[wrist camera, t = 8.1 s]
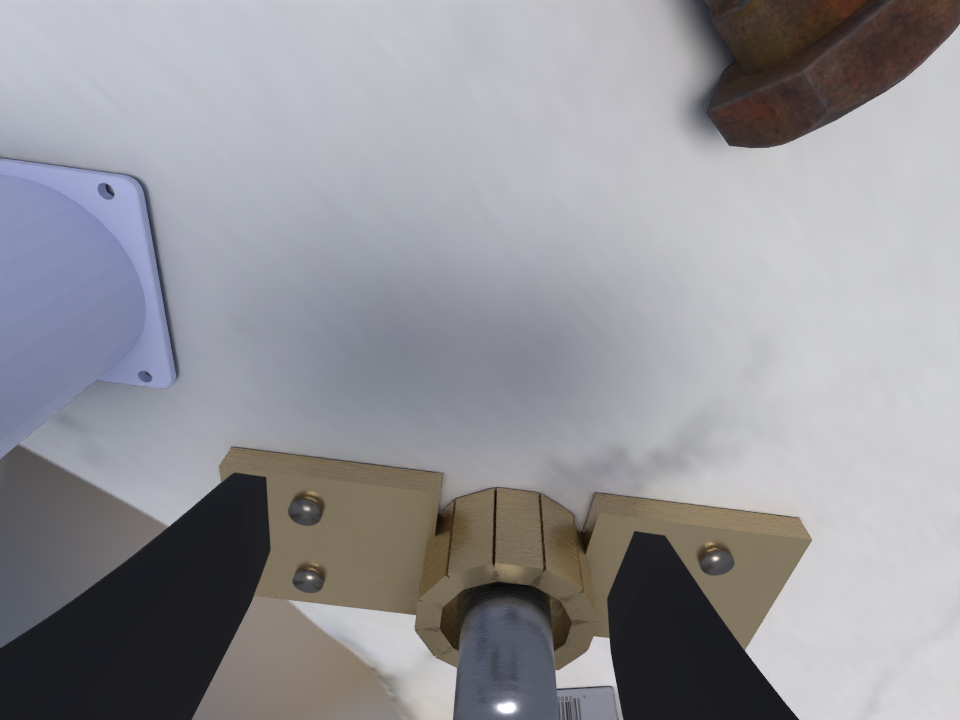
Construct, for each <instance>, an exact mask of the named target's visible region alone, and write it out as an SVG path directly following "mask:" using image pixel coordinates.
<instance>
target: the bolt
mask: <svg viewBox="0 0 960 720" xmlns="http://www.w3.org/2000/svg"><path fill="white" fill-rule="evenodd" d="M704 1H705V3H706V4H707V6H708V7H709V9H710V10H711V21H712V22H713V24H714V25H715V27H716V29H717V30H718V32H719V33H720V35H721V36H722V38H723V40H724V41H725V43H726V44H727V46H728V47H729V49H730V51H731V52H732V54H733V55H734V57H735V58H736V60H735V61H734V62H733V63H732V64H731V65H729V66H728V67H727V68H726V69H725V71H724V73H723V75H722V78H721V80H720V82H719V84H718V87H717V89H716V91H715V94H714V96H713V98H712V101H711V103H710V105H709V108H708V110H707V114H708V116H709V117H710V118H711V120H712V121H713V123H714V124H715V126H716V127H717V129H718V130H719V131H720V133H721V134H722V136H723V137H724V139H725V140H726V142H727V143H728V145H729V146H736V147H747V148H769V147H773V146H778V145H783V144H785V143H788V142H790V141H793V140H795V139H797V138H799V137H801V136H804V135H806V134H808V133H810V132H812V131H814V130H816V129H818V128H820V127H823V126H825V125H827V124H829V123H831V122H833V121H835V120H837V119H839V118H841V117H842V116H844V115H846V114H848V113H849V112H851V111H853V110H854V109H856V108H858V107H860V106H861V105H863V104H865V103H867V102H868V101H870V100H872V99H874V98H875V97H877V96H879V95H881V94H882V93H884V92H886V91H887V90H889V89H890V88H892V87H893V86H894V85H896V84H897V83H899V82H900V81H902V80H903V79H905V78H906V77H907V76H908V75H909V74H911V73H912V72H913V71H914V70H915V69H916V68H918V67H919V66H920V65H921V64H922V63H923V62H924V61H925V60H926V59H927V58H928V57H929V56H930V55H931V54H932V53H933V52H934V51H935V50H936V49H937V48H938V47H939V46H940V45H941V44H942V43H943V42H944V41H945V40H946V39H947V38H948V37H949V36H950V35H951V34H952V33H953V32H954V30H955V29H956V28H957V27H958V25H959V24H960V0H704Z"/></svg>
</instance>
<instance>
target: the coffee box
mask: <svg viewBox="0 0 960 720" xmlns="http://www.w3.org/2000/svg"><path fill="white" fill-rule="evenodd" d="M557 701H558V715H559V720H618V714H617V708H616V702H615V696H614V691H613V689H612V688H611V687H601V688H583V689H566V690H557Z"/></svg>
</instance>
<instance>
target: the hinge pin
mask: <svg viewBox="0 0 960 720" xmlns="http://www.w3.org/2000/svg"><path fill="white" fill-rule="evenodd" d="M453 720H559V715H558V701H557V688H556V675H555V661H554V648H553V635H552V621H551V608H550V595H549V594H547V593H545V592H544V591H542V590H540V589H538V588H536V587H535V586H531V585H523V584H515V583H506V582H498V581H496V582H492V583H488V584H484V585H480V586H476V587H472V588H468V589H464V591H463V603H462V616H461V628H460V640H459V653H458V665H457V677H456V690H455V702H454V715H453Z"/></svg>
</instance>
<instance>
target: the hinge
mask: <svg viewBox="0 0 960 720" xmlns="http://www.w3.org/2000/svg"><path fill="white" fill-rule="evenodd" d="M219 469H220V476H221V482H223V481H224V480H225V479H226V478H227V477H228V476H230V475H231V474H233V473H234V472H236V473H243V474H249V475H256V476H263V477H266V481H267V498H268V514H269V530H270V547H271V551H270V554H269V556H268V559H267V562H266V565H265V567H264V570H263V573H262V576H261V578H260V581H259V583H258V586H257V589H256V591H255V594H254V596H261V597H270V598H278V599H286V600H294V601H303V602H311V603H320V604H328V605H337V606H345V607H353V608H362V609H370V610H379V611H387V612H395V613H404V614H412V615H416V622H415V629H416V630H415V631H416V633H417V634H418V635H419V637H420V638H421V639H422V641H423V642H424V643H425V645H426V646H427V647H428V649H429V650H430V651H431V653H432V654H433V656H436V658H438V659H440V660H442V661H444V662H446V663H448V664H450V665H452V666H454V667H456V668H457V665H458V653H459V640H460V628H461V616H462V603H463V591H464V589H468V588H472V587H476V586H480V585H484V584H488V583H492V582H496V581H498V582H506V583H515V584H523V585H531V586H535V587H536V588H538V589H540V590H542V591H544V592H545V593H547V594H549V595H550V608H551V621H552V635H553V648H554V661H555V669H556V670H560V669H561V668H563V667H564V666H566V665H567V664H569V663H570V662H572V661H573V660H575V659H576V658H578V657H579V656H581V655H582V654H584V653H585V652H587V650H588V649H589V646H590V644H591V641H592V638H593V636H598V637H606V638H610V636H609V623H608V607H607V597H608V595H609V592H610V590H611V587H612V585H613V582H614V580H615V577H616V575H617V573H618V570H619V568H620V565H621V563H622V560H623V558H624V555H625V553H626V551H627V548H628V546H629V543H630V541H631V538H632V536H633V533H634V531H638V532H645V533H651V534H658V535H665V536H666V538H667V539H668V540H669V542H670V543H671V545H672V546H673V548H674V549H675V551H676V552H677V554H678V555H679V557H680V558H681V560H682V561H683V563H684V564H685V566H686V567H687V569H688V570H689V572H690V573H691V575H692V576H693V578H694V579H695V581H696V582H697V584H698V585H699V587H700V588H701V589H702V591H703V592H704V594H705V595H706V597H707V598H708V600H709V601H710V603H711V604H712V606H713V607H714V608H715V610H716V611H717V613H718V614H719V616H720V617H721V618H722V620H723V621H724V623H725V624H726V625H727V627H728V628H729V630H730V631H731V632H732V634H733V635H734V637H735V638H736V639H737V641H738V642H739V643H740V645H741V646H742V648H743V649H744V650H745V649H746V647H747V646H748V644H749V643H750V641H751V639H752V638H753V636H754V634H755V633H756V631H757V629H758V628H759V626H760V625H761V623H762V621H763V620H764V618H765V616H766V615H767V613H768V611H769V610H770V608H771V606H772V605H773V603H774V602H775V600H776V598H777V597H778V595H779V593H780V592H781V590H782V588H783V587H784V585H785V584H786V582H787V580H788V579H789V577H790V575H791V574H792V572H793V570H794V569H795V567H796V566H797V564H798V562H799V561H800V559H801V557H802V556H803V554H804V552H805V551H806V549H807V548H808V546H809V544H810V543H811V541H812V539H811V537H810V535H809V534H808V532H807V530H806V529H805V527H804V525H803V524H802V522H801V521H800V519H799V518H793V517H785V516H777V515H769V514H761V513H753V512H745V511H737V510H729V509H721V508H713V507H705V506H697V505H689V504H681V503H673V502H665V501H657V500H649V499H641V498H634V497H626V496H618V495H610V494H602V493H595V494H594V498H593V501H592V504H591V507H590V510H589V514H588V517H587V520H586V523H585V527H584V530H583V533H582V532H581V530H580V527H579V525H578V523H577V521H576V519H575V517H574V515H572V513H571V512H570V511H568V510H567V509H565V508H563V507H562V506H560V505H559V504H557V503H555V502H554V501H552V500H551V499H549V498H547V497H546V496H544V495H542V494H540V495H539V496H538V493H537V492H529V491H521V490H513V489H505V488H497V491H496V490H495V488H491V489H488V490H484V491H481V492H477V493H474V494H470V495H467V496H463V497H460V498H456V501H455V500H453V501H452V502H451V503H450V504H449V505H448V506H447V507H446V508H445V509H444V510H443V511H442V512H441V513H440V514H439V515H438V509H439V501H440V493H441V484H442V476H443V474H442V473H434V472H426V471H418V470H410V469H402V468H394V467H386V466H378V465H370V464H362V463H354V462H346V461H338V460H330V459H322V458H315V457H307V456H299V455H291V454H283V453H275V452H267V451H259V450H251V449H243V448H235V447H232V448H231V449H230V450H229V452H228V453H227V455H226V456H225V458H224V459H223V461H222V462H221V464H220V465H219ZM555 672H556V671H555Z"/></svg>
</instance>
